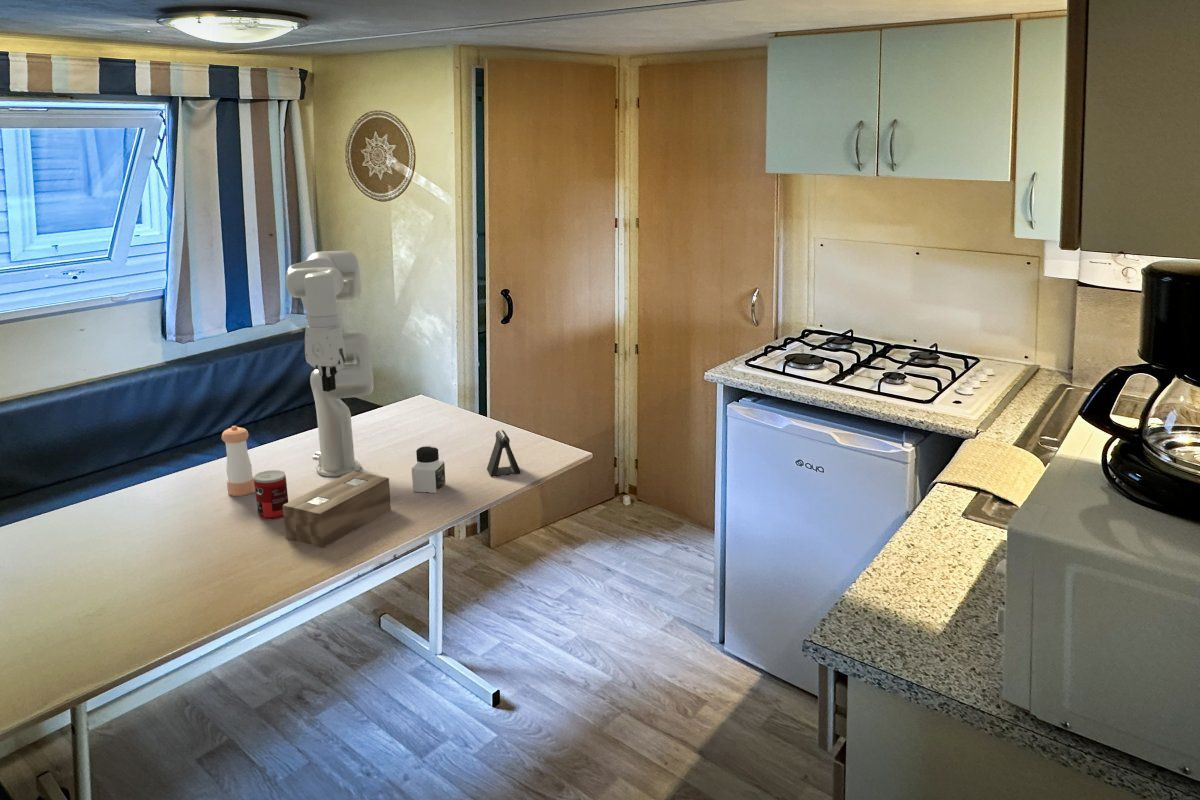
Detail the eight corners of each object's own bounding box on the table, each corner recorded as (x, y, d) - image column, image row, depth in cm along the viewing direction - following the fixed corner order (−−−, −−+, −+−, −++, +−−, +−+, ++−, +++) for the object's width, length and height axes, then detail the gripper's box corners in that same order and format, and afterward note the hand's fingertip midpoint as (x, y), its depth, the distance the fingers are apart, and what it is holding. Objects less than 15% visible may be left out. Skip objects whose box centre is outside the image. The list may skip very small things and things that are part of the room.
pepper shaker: (261, 488, 271) (253, 424, 265) (241, 497, 265) (233, 431, 259) (241, 484, 274) (234, 420, 268) (222, 493, 268) (213, 428, 262)
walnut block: (286, 538, 239) (282, 505, 237) (355, 501, 261) (353, 470, 259) (323, 547, 234) (319, 513, 231) (391, 509, 256) (388, 478, 254)
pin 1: (309, 531, 241) (306, 502, 238) (320, 525, 244) (317, 496, 242) (321, 534, 239) (318, 505, 237) (332, 528, 242) (329, 499, 240)
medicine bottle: (437, 493, 267) (434, 453, 263) (412, 492, 268) (410, 451, 265) (445, 484, 273) (443, 444, 270) (422, 482, 275) (419, 443, 271)
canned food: (262, 509, 257) (257, 470, 254) (292, 507, 258) (288, 469, 255) (254, 520, 250) (250, 481, 247) (286, 519, 250) (281, 480, 247)
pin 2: (347, 511, 253) (344, 483, 250) (357, 506, 256) (354, 478, 254) (359, 514, 251) (356, 485, 248) (369, 509, 254) (366, 480, 252)
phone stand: (516, 466, 287) (515, 428, 283) (520, 473, 281) (519, 434, 278) (486, 470, 284) (485, 431, 281) (490, 477, 279) (488, 438, 275)
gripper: (290, 321, 246) (297, 390, 251) (335, 326, 239) (341, 397, 244) (311, 315, 252) (317, 383, 257) (355, 321, 245) (361, 390, 251)
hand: (329, 390), depth 251 cm, fingers closed
